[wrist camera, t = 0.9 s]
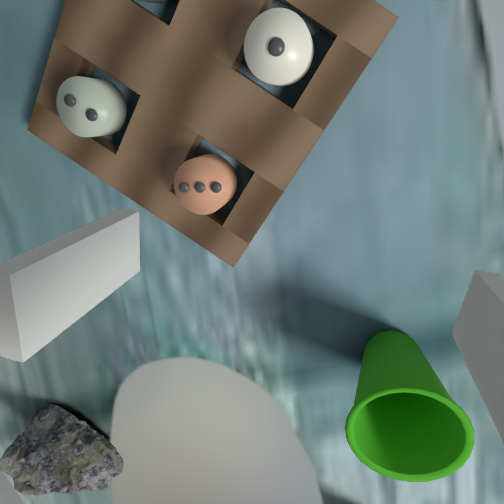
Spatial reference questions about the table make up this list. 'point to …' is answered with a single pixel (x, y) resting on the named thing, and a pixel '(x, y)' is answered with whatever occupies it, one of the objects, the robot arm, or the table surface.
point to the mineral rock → (60, 455)
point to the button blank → (156, 1)
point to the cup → (405, 414)
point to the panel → (201, 100)
